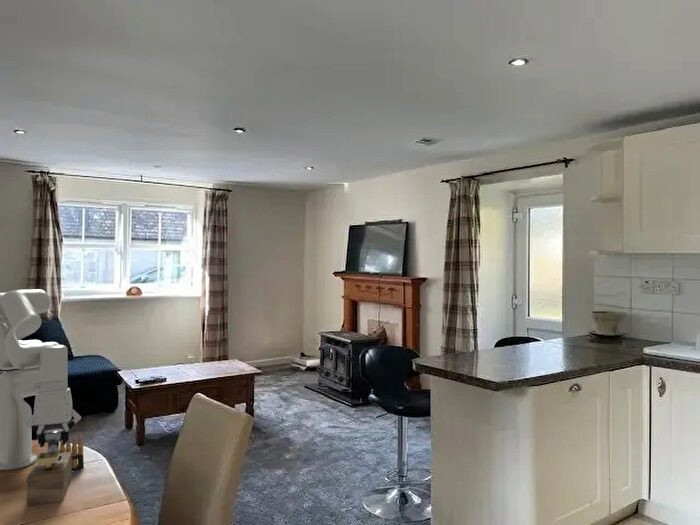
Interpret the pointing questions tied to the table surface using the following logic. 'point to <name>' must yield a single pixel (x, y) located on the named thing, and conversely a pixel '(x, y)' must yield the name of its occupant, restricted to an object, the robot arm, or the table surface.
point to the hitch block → (49, 481)
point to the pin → (53, 439)
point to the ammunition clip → (74, 452)
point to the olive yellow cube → (48, 459)
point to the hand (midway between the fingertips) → (53, 444)
